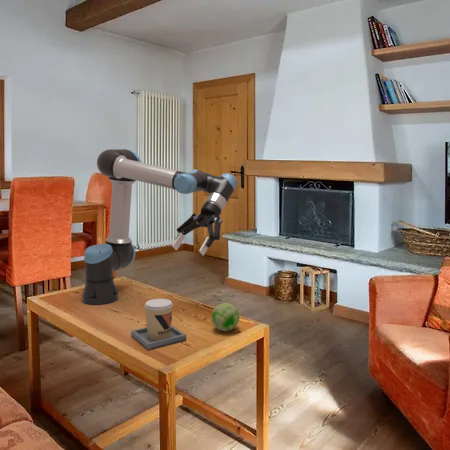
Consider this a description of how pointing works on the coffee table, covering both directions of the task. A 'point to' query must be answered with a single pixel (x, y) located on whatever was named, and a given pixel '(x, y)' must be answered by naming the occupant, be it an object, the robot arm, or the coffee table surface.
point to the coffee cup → (158, 318)
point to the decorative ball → (225, 317)
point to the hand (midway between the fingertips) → (187, 250)
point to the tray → (149, 344)
